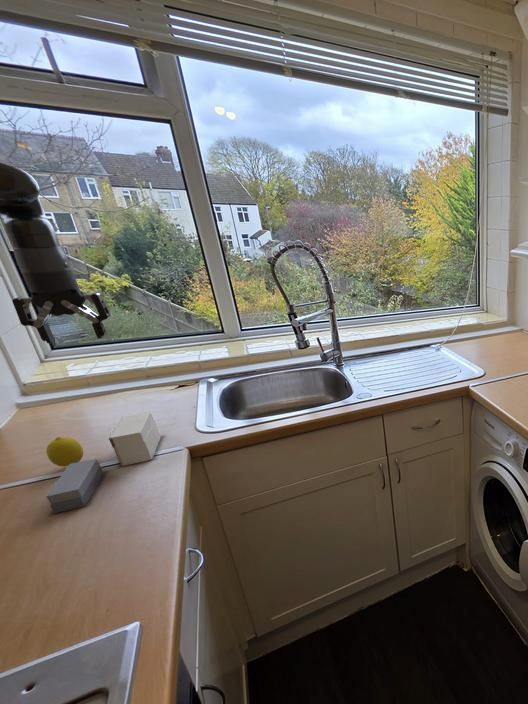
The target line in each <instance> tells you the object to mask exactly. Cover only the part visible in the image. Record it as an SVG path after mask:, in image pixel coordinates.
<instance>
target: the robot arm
mask: <svg viewBox="0 0 528 704" xmlns="http://www.w3.org/2000/svg"><path fill="white" fill-rule="evenodd" d="M40 191H41V190H40V185H39V184H38V181H37V180H36V179H35V178H34V177H33V176H32V175H31V174H29V172H27V171H25V170H23V169H21V168H20V167H17V166H14V165H11V164H7V163H5V162H4V163H3V162H0V219H1V222H2V226H3V229H4V232H5V235H6V236H7V239H8V241H9V243H10V245H11V248H12V251H13V253H14V254H13V255H14V257H15V260H16V263H17V267H18V269H19V271H20V272H21V274H22V276H23V278H24V281H25V283H26V286H27V288H28V290H29V291H30V294H31V297H24V296H18V297H15V298H13V299H12V304H13V306H14V309H15V312H16V315H17V317H18V320H19V322H20V325H22V326H24V327H27V326H29V327H33V328H36V330H37V332H38V335H39V337H40V340H42V341H43V342H46V344H53V343H54V342H56V340H55V337H54V334H53V332H52V329H51V328H50V325H47V322H49V319H50V318H51V317H52V316H54V317H57V316H59V317H60V316H63V315H67V316H73V315H75V314H77V315H79V316H80V317H82V318H85V319H87V320H88V321H90V322H92V323H91V325H92V328H93V331H94V333H95V336H96V338H97V339H103V338H105V335H106V334H107V330H106V328H105V326H104V323H103V321H105V320H107V319H109V318H110V317H111V313H110V310H109V308H108V306H107V304H106V301H105V300H104V297H103V295H102V293H101V292H98V291H97V292H96V291H95V292H94V293H89V294H88V293H87V294H84V293H83V292H82V291H81V290H80V289H81V288H80V285H79V284H78V281H77V279H76V276H75V274H74V272H73V269H72V266H71V264H70V261H69V259H68V257H67V254H66V253H65V250H64V249H63V247H62V246H61V243H60V241H59V238H58V234H57V233H56V231H55V228H54V226H53V225H52V223H51V221H50V220H49V219H48V218H47V216H46V212H45V210H44V207H43V205H42V203H41V200H40V193H41V192H40ZM86 301H89V303H90V304H94V307H95V309H96V311H97V313H98V314H97V313H96V312H94V311H93V310H92V309H91V308H89V307H88V306H86V305H85V302H86ZM32 304H33V305H35V306H37V307H38V308H40V311H39V312H38V314H37V317H36V318H35V319H34V318H33V315H32V313H31V310H30V307H32Z"/></svg>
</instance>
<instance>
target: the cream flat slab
mask: <svg viewBox="0 0 528 704" xmlns="http://www.w3.org/2000/svg"><path fill="white" fill-rule="evenodd" d="M153 421H154V416H153V414H152V412H151V411H147V412H141V413H134V414H128V415H124V416H121V418H120V420H119V421H118V423H117V424H116V426H115V427H114V429H113V431H112V432H111V434H110V436H109V437H108V440H109V442H110V444H111V447H112V448H113V449H114V447H119V446H124V445H129V444H135V443H140V442H144V440H145V438H146V436H147V434H148V432H149V430H150V427H151V425H152V423H153Z"/></svg>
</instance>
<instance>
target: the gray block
mask: <svg viewBox="0 0 528 704" xmlns="http://www.w3.org/2000/svg"><path fill="white" fill-rule="evenodd" d="M103 475H104V470H103V469H102V467H101V464H100V462H99V460H98V458H93V459H88V460H83V461H79V462H77V463H72V464H69V465H68V466H66V468H65V470H63V472H62V474H61V475H60V477H59V478H58V480H57V481H56V482H55V484H54V485H53V486H52V488H51V489H50V490H49V492H48V494H47V495H46V499H47V500H48V502H49V507H50V509H51V510H52V512H53V514H58V513H62V512H66V511H70V510H75V509H79V508H83V507H86V505H87V504H88V502H89V500H90V498H91V496H92V495H93V493H94V491H95V489H96V487H97V486H98V484H99V482H100V480H101V478H103Z"/></svg>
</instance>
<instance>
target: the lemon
mask: <svg viewBox="0 0 528 704" xmlns="http://www.w3.org/2000/svg"><path fill="white" fill-rule="evenodd" d="M46 455H47V458H48V460H49V461H50V462H51V463H52V464H54V465H56V466H59V467H68V465H69V464H72V463H77V462H81V460H82V458H83V456H84V449H83V446H82V445H81V443H80V442H79V441H78V440H76V439H74V438H73V437H68V436H57V437H56V438H55V439H53V440H51V441H50V442H49V443H48V445H47V446H46Z"/></svg>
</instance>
